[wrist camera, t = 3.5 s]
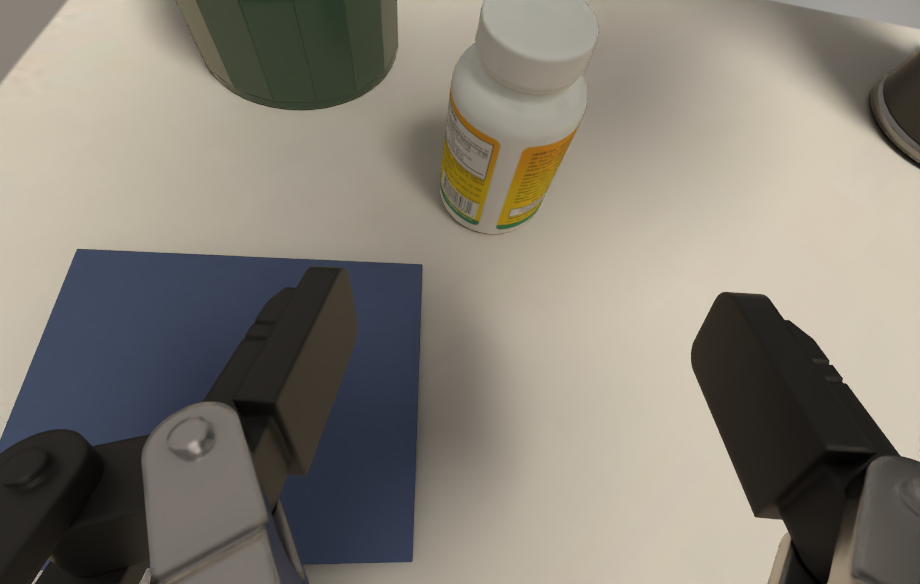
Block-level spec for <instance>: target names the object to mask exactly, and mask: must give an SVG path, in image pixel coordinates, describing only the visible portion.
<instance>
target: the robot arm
mask: <svg viewBox="0 0 920 584" xmlns="http://www.w3.org/2000/svg"><path fill="white" fill-rule="evenodd" d="M870 101H871V108H872V111H873V114H874V116H875V119H876V121H877V122H878V124H879V126H880V127H881V129H882V130H883V131H884V133H885V134H886V135H887V136H888V138H889V139H890V140H891V141H892V142H893V143H894V144H895V145H896V146H897V147H898V148H899V149H901V150H902V151H903V152H904V153H905V154H907V155H908V156H909V157H911V158H912V159H913V160H915V161H916V162H918V163H920V49H919V50H917V51H916V52H915V53H914V54H913V55H912V56H910V57H909V58H908V59H907V60H906V61H905V62H903V63H902V64H901V65H900V66H899V67H898V68H897V69H894V70H892V71H891V72H889V73H888V74H887V75H886V76H885V77H883V78H882V79H881V80H880V81H879V82H878V83H877V84H876V85H875V86H874V88H873V90H872V92H871V98H870ZM356 337H357V315H356V310H355V305H354V299H353V294H352V289H351V283H350V278H349V274H348V271H347V269H346V268H340V267H324V266H310V267H309V268H308V269H307V270H306V272H305V274H304V276H303V277H302V279H301V281H300V282H299V284H298V286H297V288H292V287H285V288H284V289H283V290H281V291H280V292H279V293H277V294H276V295H275V296H274V297H272V298H271V299H270V300H268V301H267V302H266V303H265V305H264V307H263V308H262V310H261V311H260V313H259V314H258V316H257V317H256V319H255V324H252V325H251V327H250V328H249V330H248V331H247V333H246V335H245V339H242V341H241V342H240V344H239V345H238V347H237V349H236V350H235V352H234V353H233V355H232V356H231V358H230V359H229V361H228V363H227V364H226V366H225V367H224V369H223V370H222V372H221V373H220V375H219V377H218V378H217V380H216V381H215V383H214V384H213V386H212V387H211V389H210V391H209V392H208V394H207V395H206V397H205V398H204V399H203V401H202V402H201V403H197V404H193V405H190V406H187V407H185V408H183V409H180V410H178V411H177V412H175V413H173V414H172V415H170V416H169V417H167V418H166V419H165V420H163V421H162V422H161V423H160V424H159V425H158V426H157V427H156V428H155V429H154V430H153V432H152V433H151V434H148V435H143V436H138V437H134V438H129V439H124V440H119V441H114V442H109V443H104V444H99V445H95V446H92V445H91V444H90V443H89V442H88V441H87V440H86V439H85V438H84V437H83V436H82V435H81V434H79V433H78V432H76V431H73V430H69V429H54V430H49V431H44V432H41V433H37V434H35V435H32V436H30V437H27V438H25V439H23V440H21V441H19V442H17V443H16V444H14V445H12V446H11V447H9V448H7V449H6V450H5V451H3V452H2V453H0V584H31V583H32V582H33V580H34V579H35V577H36V576H37V574H38V573H39V571H40V570H41V568H42V567H43V565H44V564H45V562H46V561H47V560H50V562H49V563H48V565H47V566H46V568H45V569H44V571H43V572H42V574H41V575H40V577H39V578H38V580H37V581H36V583H35V584H139V582H140V581H141V579H142V577H143V575H144V573H145V571H146V569H147V567H148V565H149V563H150V566H151V581H150V584H309V581H308V578H307V575H306V572H305V569H304V566H303V563H302V560H301V556H300V553H299V550H298V547H297V544H296V541H295V538H294V535H293V532H292V529H291V526H290V522H289V519H288V516H287V513H286V510H285V507H284V504H283V501H282V498H281V495H280V492H281V490H282V487H283V485H284V482H285V480H286V477H287V475H288V474H293V475H304V476H307V474H308V471H309V469H310V466H311V463H312V460H313V458H314V455H315V452H316V449H317V447H318V444H319V441H320V438H321V436H322V433H323V430H324V427H325V425H326V422H327V419H328V416H329V414H330V411H331V408H332V405H333V403H334V400H335V397H336V395H337V392H338V389H339V386H340V384H341V381H342V378H343V375H344V373H345V370H346V367H347V364H348V362H349V359H350V356H351V353H352V351H353V348H354V345H355V342H356ZM691 363H692V368H693V371H694V373H695V376H696V378H697V380H698V383H699V385H700V387H701V390H702V392H703V395H704V397H705V399H706V402H707V404H708V406H709V409H710V411H711V414H712V416H713V418H714V421H715V423H716V425H717V428H718V430H719V433H720V435H721V437H722V440H723V442H724V444H725V447H726V449H727V452H728V454H729V456H730V459H731V461H732V463H733V466H734V468H735V471H736V473H737V475H738V478H739V480H740V482H741V485H742V487H743V490H744V492H745V494H746V497H747V499H748V501H749V504H750V506H751V509H752V511H753V513H754V516H755V517H758V518H770V519H781V520H783V521H784V523H785V525H786V527H787V530H788V533H786V534H785V535H784V536H783V538H782V539H781V542H780V544H779V548H778V551H777V554H776V557H775V561H774V564H773V567H772V570H771V574H770V577H769V580H768V583H767V584H920V462H919V461H916V460H913V459H910V458H906V457H902V456H900V455H899V454H898V452H897V451H896V450H895V448H894V447H893V446H892V444H891V443H890V441H889V440H888V439H887V437H886V436H885V435H884V433H883V432H882V431H881V429H880V428H879V427H878V425H877V424H876V423H875V421H874V420H873V419H872V417H871V416H870V415H869V413H868V412H867V411H866V409H865V408H864V407H863V405H862V404H861V403H860V401H859V400H858V398H857V397H856V396H855V394H854V393H853V392H852V390H851V389H850V388H849V386H848V385H847V384H846V383H843V382H842V380H843V378H842V377H841V376H840V374H839V373H838V372H837V370H836V369H835V368H834V366H833V365H829V360H828V358H827V357H826V355H825V354H824V353H823V351H822V350H821V349H820V347H819V346H818V345H817V343H816V342H815V341H814V339H812V338H811V337H810V336H809V335H807V334H806V333H805V332H803V331H802V330H801V329H800V328H798V327H797V326H796V325H795V324H793V323H792V322H791V321H789V320H784V319H783V317H782V316H781V315H780V313H779V312H778V310H777V309H776V308H775V306H774V305H773V303H772V302H771V300H770V299H769V298H768V297H767V296H765V295H763V294H749V293H733V292H723V293H721V294H720V295H718V297H717V298H716V299H715V301H714V303H713V305H712V307H711V309H710V311H709V313H708V315H707V317H706V319H705V321H704V323H703V324H702V326H701V328H700V330H699V332H698V334H697V336H696V338H695V340H694V342H693V345H692V350H691Z"/></svg>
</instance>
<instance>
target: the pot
mask: <svg viewBox="0 0 920 584" xmlns="http://www.w3.org/2000/svg"><path fill="white" fill-rule="evenodd" d="M176 3H177V5H178V7H179V9H180V11H181V13H182V15H183V17H184V19H185V21H186V23H187V26H188V28H189V30H190V32H191V34H192V36H193V38H194V40H195V42H196V44H197V46H198V48H199V51H200V53H201V55H202V57H203V59H204V61H205V63H206V65H207V67H208V68H209V69H210V71H211V72H212V73H213V75H214V76H215V77H216V78H217V79H218V80H219V81H220V82H221V83H222V84H223V85H224V86H225V87H227V88H228V89H230V90H231V91H233V92H234V93H236V94H238V95H240V96H241V97H243V98H245V99H248V100H250V101H253V102H256V103H258V104H262V105H266V106H270V107H275V108H282V109H294V110H307V109H319V108H326V107H330V106H335V105H339V104H342V103H345V102H348V101H351V100H353V99H355V98H357V97H359V96H361V95H363V94H365V93H366V92H368V91H370V90H371V89H372V88H374V87H375V86H376V85H377V84H379V83H380V82H381V81H382V80H383V78H384V77H385V76H386V75H387V74H388V72H389V71H390V69H391V68H392V65H393V63H394V61H395V58H396V54H397V49H398V24H397V0H176Z"/></svg>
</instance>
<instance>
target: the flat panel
mask: <svg viewBox="0 0 920 584" xmlns="http://www.w3.org/2000/svg"><path fill="white" fill-rule="evenodd" d="M310 266H324V267H340V268H346V269H347V271H348V274H349V278H350V283H351V289H352V294H353V299H354V305H355V310H356V315H357V337H356V342H355V345H354V348H353V351H352V353H351V356H350V359H349V362H348V364H347V367H346V370H345V373H344V375H343V378H342V381H341V384H340V386H339V389H338V392H337V395H336V397H335V400H334V403H333V405H332V408H331V411H330V414H329V416H328V419H327V422H326V425H325V427H324V430H323V433H322V436H321V438H320V441H319V444H318V447H317V449H316V452H315V455H314V458H313V460H312V463H311V466H310V469H309V471H308V474H307V476H304V475H293V474H288V475H287V477H286V480H285V482H284V485H283V487H282V490H281V492H280V495H281V498H282V501H283V504H284V507H285V510H286V513H287V516H288V519H289V522H290V526H291V529H292V532H293V535H294V538H295V541H296V544H297V547H298V550H299V553H300V556H301V560H302V563H303V564H342V563H387V562H412V557H413V528H414V498H415V469H416V440H417V410H418V381H419V351H420V322H421V292H422V265H420V264H398V263H376V262H354V261H332V260H310V259H288V258H265V257H243V256H221V255H199V254H177V253H155V252H133V251H111V250H89V249H77V251H76V253H75V256H74V258H73V260H72V263H71V265H70V268H69V270H68V273H67V275H66V278H65V280H64V283H63V285H62V288H61V290H60V293H59V295H58V298H57V300H56V303H55V305H54V308H53V310H52V313H51V315H50V318H49V320H48V323H47V325H46V328H45V330H44V333H43V335H42V337H41V340H40V342H39V345H38V347H37V350H36V352H35V355H34V357H33V360H32V362H31V365H30V367H29V370H28V372H27V375H26V377H25V380H24V382H23V385H22V387H21V390H20V392H19V395H18V397H17V400H16V402H15V405H14V407H13V409H12V412H11V414H10V417H9V419H8V422H7V424H6V427H5V429H4V432H3V434H2V437H1V439H0V453H2V452H3V451H5V450H6V449H7V448H9V447H11V446H12V445H14V444H16V443H17V442H19V441H21V440H23V439H25V438H27V437H30V436H32V435H35V434H37V433H41V432H44V431H49V430H54V429H69V430H73V431H76V432H78V433H79V434H81V435H82V436H83V437H84V438H85V439H86V440H87V441H88V442H89V443H90V444H91V445H92V446H95V445H99V444H104V443H109V442H114V441H119V440H124V439H129V438H134V437H138V436H143V435H148V434H151V433H152V432H153V430H154V429H155V428H156V427H157V426H158V425H159V424H160V423H161V422H162V421H163V420H165V419H166V418H167V417H169V416H170V415H172V414H173V413H175V412H177V411H178V410H180V409H183V408H185V407H187V406H190V405H193V404H197V403H201V402H202V401H203V399H204V398H205V397H206V395H207V394H208V392H209V391H210V389H211V387H212V386H213V384H214V383H215V381H216V380H217V378H218V377H219V375H220V373H221V372H222V370H223V369H224V367H225V366H226V364H227V363H228V361H229V359H230V358H231V356H232V355H233V353H234V352H235V350H236V349H237V347H238V345H239V344H240V342H241V341H242V339H245V335H246V333H247V331H248V330H249V328H250V327H251V325H252V324H255V319H256V317H257V316H258V314H259V313H260V311H261V310H262V308H263V307H264V305H265V303H266V302H267V301H268V300H270V299H271V298H272V297H274V296H275V295H276V294H277V293H279V292H280V291H281V290H283V289H284V288H285V287H292V288H297V286H298V284H299V282H300V281H301V279H302V277H303V276H304V274H305V272H306V270H307V269H308V268H309V267H310ZM49 562H50V560H47V561H46V562H45V564H44V565H43V567H42V568H41V570H44V569H45V568H46V566H47V565H48V563H49ZM147 568H151V566H150V563H149V565H148V567H147Z"/></svg>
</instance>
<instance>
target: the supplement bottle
mask: <svg viewBox="0 0 920 584" xmlns="http://www.w3.org/2000/svg"><path fill="white" fill-rule="evenodd" d="M598 33H599V27H598V22H597V18H596V17H595V14H594V12H593V11H592V9H591V8H590V7H589V5H588V4H587V3H586V2H585V1H584V0H484V2H483V5H482V8H481V13H480V19H479V24H478V30H477V33H476V38H475V41H476V43H474V44H473V45H472V46H470V47H469V48H468V49H467V50H466V51H465V52H464V53H463V55H462V56H461V57H460V59H459V60H458V62H457V64H456V66H455V69H454V72H453V76H452V81H451V89H450V98H449V106H448V115H447V124H446V132H445V140H444V148H443V158H442V167H441V175H440V194H441V198H442V201H443V203H444V205H445V207H446V209H447V210H448V212H449V213H450V214H451V215H452V217H453V218H455V219H456V220H457V221H458V222H459V223H461V224H462V225H464V226H466V227H467V228H470V229H472V230H474V231H477V232H481V233H487V234H502V233H506V232H510V231H513V230H515V229H517V228H520V227H521V226H523V225H525V224H526V223H527V222H528V221H530V220H531V219H532V217H533V216H534V215H535V214H536V212H537V210H538V208H539V207H540V205H541V202H542V200H543V198H544V196H545V194H546V192H547V190H548V188H549V186H550V183H551V181H552V179H553V177H554V175H555V173H556V171H557V169H558V167H559V165H560V163H561V161H562V159H563V157H564V155H565V153H566V151H567V149H568V147H569V144H570V142H571V140H572V138H573V136H574V134H575V132H576V130H577V128H578V126H579V124H580V122H581V120H582V117H583V115H584V112H585V109H586V105H587V86H586V82H585V78H584V76H583V73H584V72H585V70H586V68H587V66H588V63H589V59H590V57H591V54H592V52H593V50H594V47H595V45H596V42H597V38H598Z"/></svg>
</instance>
